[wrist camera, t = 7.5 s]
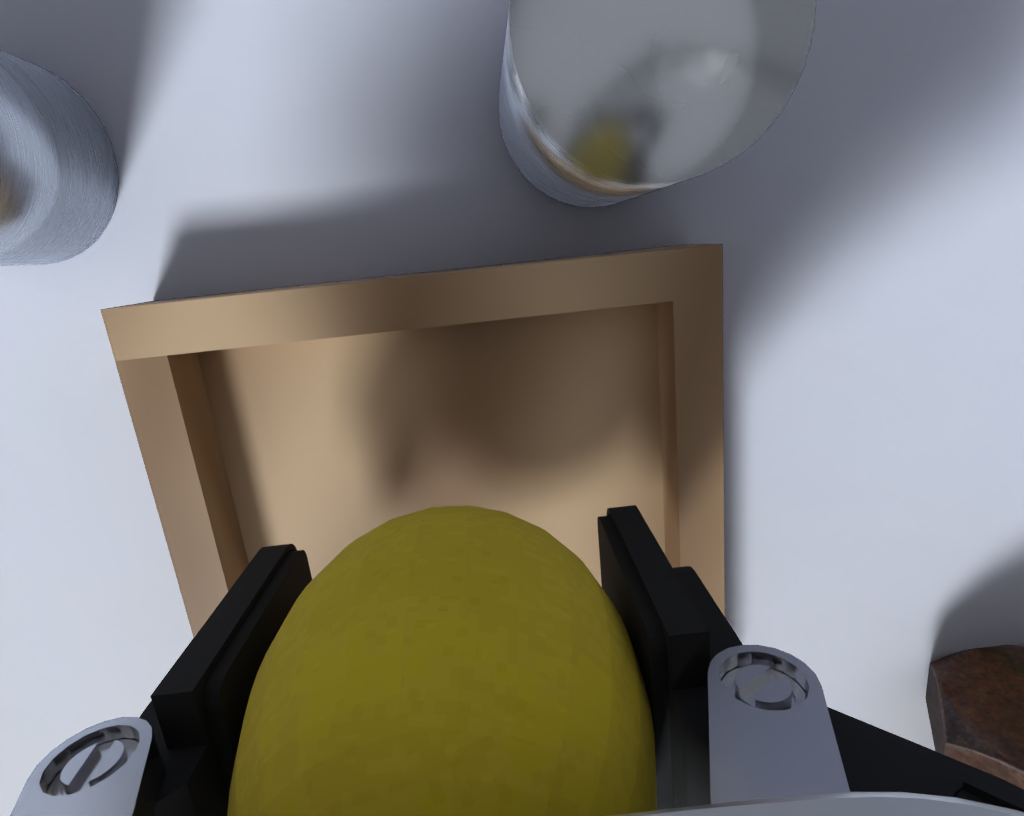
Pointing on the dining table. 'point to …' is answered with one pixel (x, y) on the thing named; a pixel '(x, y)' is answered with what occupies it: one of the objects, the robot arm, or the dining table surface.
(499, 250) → the dining table surface
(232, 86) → the dining table surface
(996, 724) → the bolt
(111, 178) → the cylinder
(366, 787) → the lemon
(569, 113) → the cylinder
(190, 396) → the tray
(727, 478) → the dining table surface
